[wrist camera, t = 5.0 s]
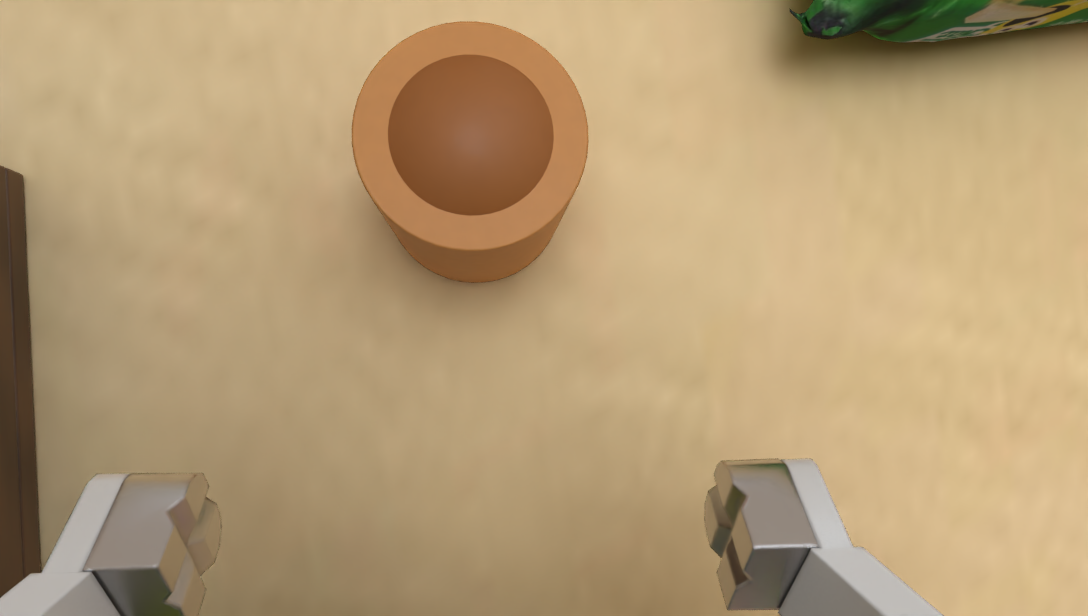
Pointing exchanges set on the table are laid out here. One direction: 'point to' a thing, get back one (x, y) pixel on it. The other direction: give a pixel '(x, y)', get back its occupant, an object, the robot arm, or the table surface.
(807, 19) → the snack package
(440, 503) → the table surface
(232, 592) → the table surface
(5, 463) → the cabinet
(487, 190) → the terracotta hollow cylinder
